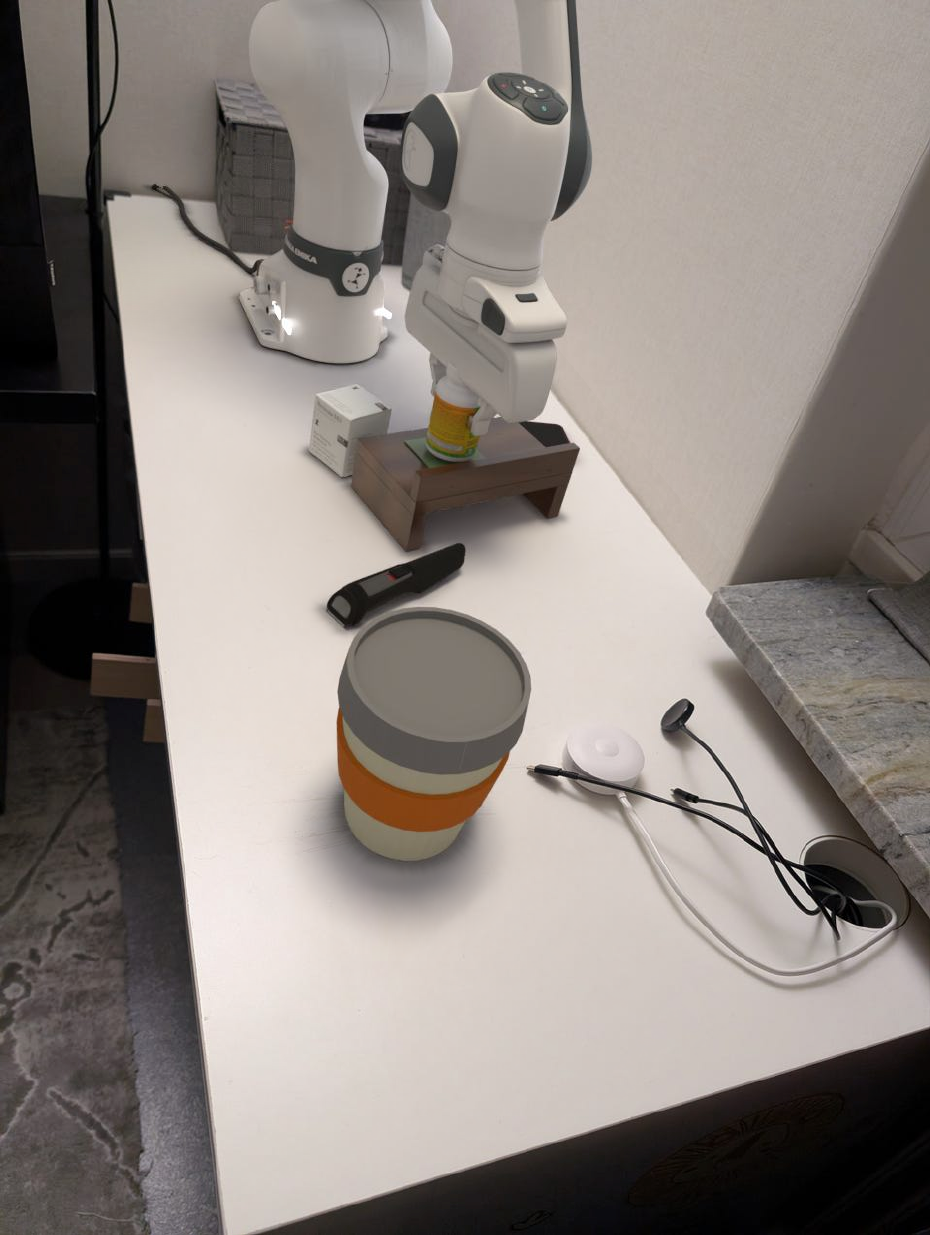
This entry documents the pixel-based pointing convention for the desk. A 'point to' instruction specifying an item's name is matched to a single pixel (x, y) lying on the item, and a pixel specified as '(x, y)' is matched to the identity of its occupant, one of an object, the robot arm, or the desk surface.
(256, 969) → the desk surface
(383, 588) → the electric trimmer
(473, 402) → the supplement bottle
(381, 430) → the product carton
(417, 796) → the reusable coffee cup
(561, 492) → the shelf
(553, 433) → the smartphone
